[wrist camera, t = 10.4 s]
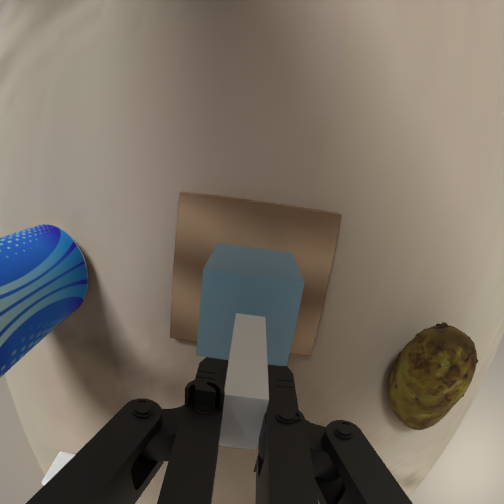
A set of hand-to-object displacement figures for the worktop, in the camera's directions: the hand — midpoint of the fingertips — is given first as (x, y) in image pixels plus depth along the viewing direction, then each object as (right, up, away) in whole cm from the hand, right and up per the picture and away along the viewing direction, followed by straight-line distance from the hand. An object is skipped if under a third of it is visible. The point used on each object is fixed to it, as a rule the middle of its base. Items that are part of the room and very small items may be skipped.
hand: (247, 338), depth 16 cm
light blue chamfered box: (0, +2, +8) cm, 9 cm away
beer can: (-18, +3, +10) cm, 20 cm away
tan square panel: (0, +2, +9) cm, 10 cm away
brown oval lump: (+16, -7, +12) cm, 21 cm away
